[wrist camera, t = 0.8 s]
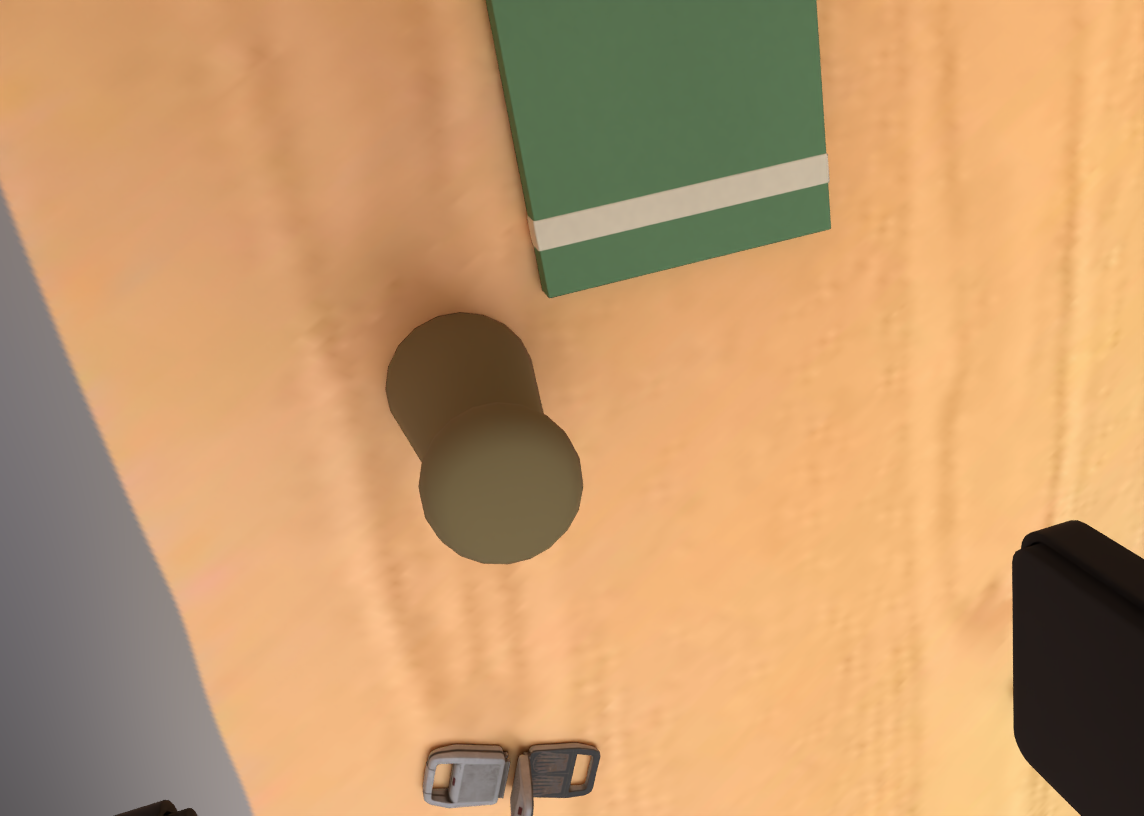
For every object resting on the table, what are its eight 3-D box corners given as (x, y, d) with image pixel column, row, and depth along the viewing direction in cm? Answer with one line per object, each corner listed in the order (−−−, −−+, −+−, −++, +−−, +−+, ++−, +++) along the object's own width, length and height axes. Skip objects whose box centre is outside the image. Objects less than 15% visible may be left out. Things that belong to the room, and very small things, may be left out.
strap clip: (419, 794, 46) (428, 865, 42) (427, 743, 45) (438, 810, 41) (588, 789, 49) (611, 856, 45) (599, 740, 48) (624, 804, 44)
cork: (476, 282, 38) (534, 376, 28) (562, 393, 40) (643, 515, 30) (353, 375, 38) (368, 502, 28) (447, 479, 40) (490, 629, 30)
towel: (437, -237, 31) (442, -247, 30) (783, -290, 33) (799, -301, 32) (541, 291, 38) (547, 299, 37) (819, 223, 40) (833, 229, 39)
